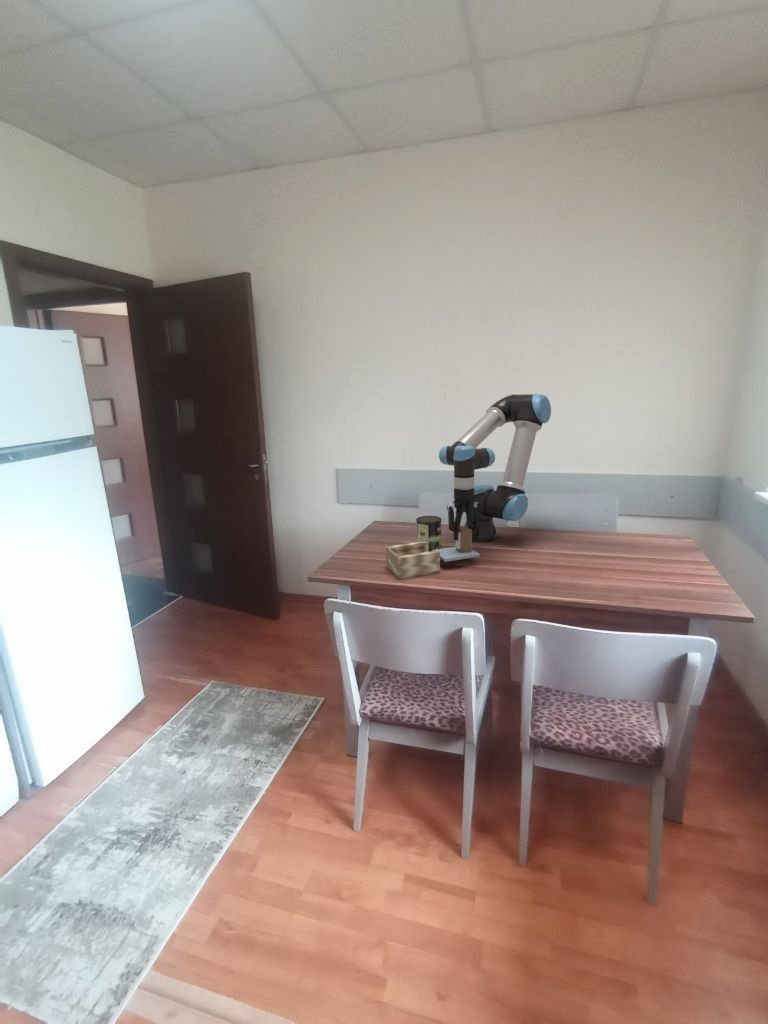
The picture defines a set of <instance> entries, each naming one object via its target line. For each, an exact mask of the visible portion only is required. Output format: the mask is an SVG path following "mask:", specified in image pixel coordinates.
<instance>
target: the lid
mask: <svg viewBox="0 0 768 1024" xmlns="http://www.w3.org/2000/svg"><path fill="white" fill-rule="evenodd" d="M459 532H460V533H461V549H458V548H456V546H451V547H445V548H442V547H441V548H442V549H436V550H438V551H439V552H440V560H442V561H443V562H444V563H446V562H452V561H458V560H465V559H472V558H478V557H481V556H480V553H479V552H477V551H476V550H474V549H472V547H471V535H472V529H470V528H468V527H466V526H464V525H463V526H460V528H459ZM436 550H432V551H436Z"/></svg>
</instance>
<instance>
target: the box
mask: <svg viewBox="0 0 768 1024" xmlns="http://www.w3.org/2000/svg"><path fill="white" fill-rule="evenodd" d="M425 545H426V542H425V541H422V542H417V541H415V542H410V543H402V544H395V545H390V546H385V566H386V568H387V569H388V570H389V571H390V572H391V573H392V574H393V576H395V577H396V578H397V579H398V580H406V579H410V578H411V579H412V578H417V577H423V576H428V575H433V574H441V559H440V552H439V551H438V550H436V551H430V552H427V549H426V548H425Z"/></svg>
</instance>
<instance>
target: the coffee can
mask: <svg viewBox="0 0 768 1024" xmlns="http://www.w3.org/2000/svg"><path fill="white" fill-rule="evenodd" d="M415 522H416V542H422V541H425V542H426V545H425V548H426V549H427V552H430V551H432V550H436V549H442V517H440V516H438V515H437V516H436V515H423V516H418V517H417V518H415Z"/></svg>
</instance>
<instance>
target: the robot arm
mask: <svg viewBox="0 0 768 1024" xmlns="http://www.w3.org/2000/svg"><path fill="white" fill-rule="evenodd" d="M551 415H552V407H551V402H550V400H549V398H548V397H547V396H546V395H545V394H541V393H540V394H538V393H534V394H533V393H532V394H531V393H529V394H525V393H524V394H509V395H507V396H504V397H502V398H501V399H499V400H498V401H496V402H494V403H493V404H491V405H490V406H489V407H488V408H487V409H486V410H485V414H484V415H482V416H481V418H480V419H479V420H477V421H476V423H474V424H473V425H472V426H471V427H470V428H469V429H468V430H467V431H466V432H465V433H464V434H462V435H461V437H460V438H458V439H457V440H456V441H455V442H454V443H453V444H452V445H451V446H450V445H445V446H442V447H441V448H440V449H439V453H438V459H439V461H440V463H441V464H443V465H446V466H450V467H451V466H453V473H454V474H453V487H454V488H453V502H452V504H450V505H449V504H448V505H446V510H447V512H448V530H449V531H450V532H453V540H454V541H455V547H456V548H458V549H461V533H460V532H459V528H460V527H461V521H462V516H463V513H465V515H466V516H465V517H466V518H465V523H464V525H463V526H466V527H468V528H470V529H472V535H471V548H472V547H473V546H472V544H473V543H472V542H474V543H477V542H478V543H485V542H491V541H494V540H496V539H497V537H498V535H497V534H498V533H497V530H496V529H497V528H496V526H495V523H494V518H495V519H499V520H503V521H506V522H509V521H510V522H518V521H519V520H521V519H522V518H523V517H524V515H525V514H526V512H527V510H528V507H529V499H528V496H527V495H526V494H525V493H526V490H525V489H524V482H525V479H526V475H527V470H528V466H529V463H530V458H531V455H532V450H533V448H534V442H535V440H536V435H537V432H539V431H541V430H542V426H543V424H546V423H548V422H549V421H550V419H551ZM508 423H513V424H512V425H513V426H514V427H515V429H514V430H515V431H514V434H513V438H512V442H511V446H510V450H509V453H508V454H509V455H508V458H507V462H506V465H505V469H504V473H503V476H502V477H503V478H502V481H501V482H500V483H498V484H497V487H496V489H495V487H494V486H493V485H492V484H486V485H485V484H484V485H483V484H481V485H475V470H480V469H486V468H488V467H491V466H493V465H494V463H495V461H496V454H495V452H494V450H492V448H490V447H481V448H478V446H480V445H481V444H482V443H483V442H484V441H485V440H486V439H487V438H488V437H489V436H490V435H491V434H492V433H493V432H494V431H495V430H497V428H500V427H502V426H504V425H505V424H508Z"/></svg>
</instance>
